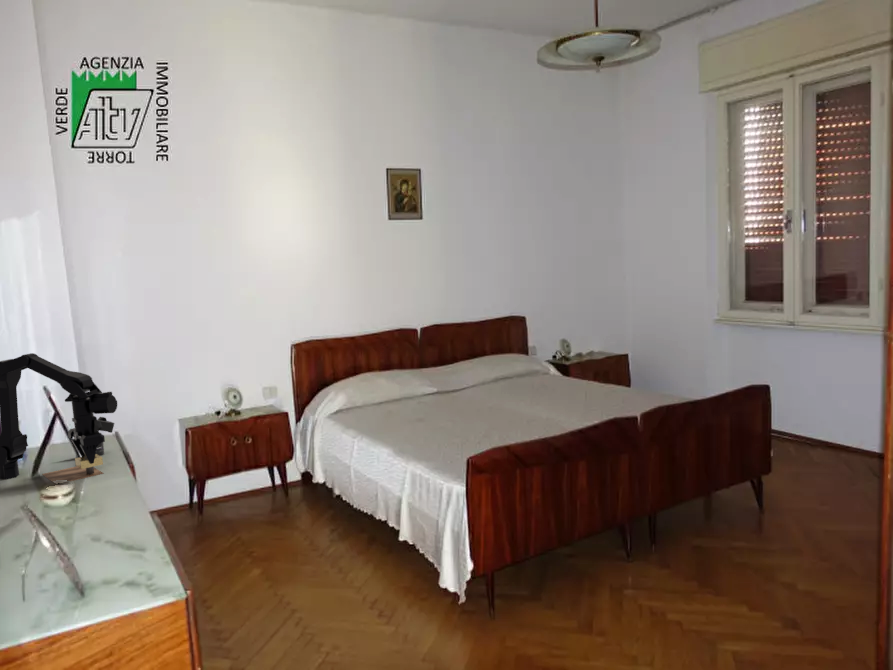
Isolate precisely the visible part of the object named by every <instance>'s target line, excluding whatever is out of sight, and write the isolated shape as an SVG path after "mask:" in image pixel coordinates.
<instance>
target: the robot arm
mask: <svg viewBox="0 0 893 670" xmlns="http://www.w3.org/2000/svg"><path fill="white" fill-rule="evenodd" d="M27 369H28V370H31V371H33V372H35V373H38V374H40V375H41V376H44V377H46V378H48V379H50V380H52V381H54V382H56V383H57V384H59V385H60V386H61V389H63V390H64V391H66V392H67V393H69V395H68V396H67V397H66V398H65V399H64V402H65V403H66V402H67V403H69V402H71V407H72V418H71V422H73V424H74V428H70V429H69V430H68V432H67V438H69V439H70V441H71V442H72V444H73V445H74V447H75V448H76V450H77V452H78V453H79V455H80V457H84V456H86V457H87V459H88V461H89V463H90V464H92V463H94V459H95V454H96V449H97V446H98V445H99V444H101V443H102V442H103V443H105V441H106V439H105V435H104V434H102V433H101V432H108V433H111V434H112V433H113V429H114V427H115V422H112V421H109V420H107V417H105V416H99V417H98V418H97V417H96V416H95V415H98V414H114V413H115V412H116V411H117V408H118V400H117V399H116V397H115V396H114V395H113V391H107V392H102V390H101V389H100V388H99V387H98V386H97V384H96V383H94V381H93V377H91V376H90V375H89V374H85V373H83V372H79V371H71V370H68V369H65V368H63V367H61V366H59V365H57V364H55V363H53V362H51V361H49V360H47V359H45V358H42V357H40V355H37V354H36V353H26V354H22V355H21V356H18V357H16V358H9V359H4V360H0V480H11V479H15V478H17V477H18V476H20V468H19V460H21V459H23V458H24V453H25V452H26V450H27V447H29V444H28V435H27V434H23V433H22V432H21V430H20V423H19V410H18V409H19V406H18V405H19V404H18V391H17V386H18V384H19V383H20V379H21V378H22V371H24V370H27ZM94 414H95V415H94ZM100 431H101V432H100Z"/></svg>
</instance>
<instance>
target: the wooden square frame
mask: <svg viewBox="0 0 893 670" xmlns="http://www.w3.org/2000/svg"><path fill="white" fill-rule="evenodd" d="M74 460H75V461H74V463H75V467H76V466H77V467H79V468H80V469H84V468H89V467H98V466H101V465H102V466H103V465H104V461H103V456H99V455H97V454H95V459H94V463H92V464H90V463H89V461H88V459H87V460H85V456H84V457H82V456H80V457H76V458H74Z"/></svg>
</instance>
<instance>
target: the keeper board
mask: <svg viewBox="0 0 893 670" xmlns="http://www.w3.org/2000/svg"><path fill="white" fill-rule="evenodd" d="M85 460H87V457H86V456H85ZM41 474H42V476H44V478H46V479H48V480H49V481H50V482H51V483H53V481H56V480H67V481H70V482H75V481H78V480H83V479H86V478H91V477H95V476H99V475H103V474H105V473H104V472H103V471H100V469H97V468H96V467H95V466H93V467H89V468H84V469H80V468H79V467H77V466H76V465H75V466H72V467H67V468H63V469H59V470H55V471H50V472H45V473H41Z"/></svg>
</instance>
